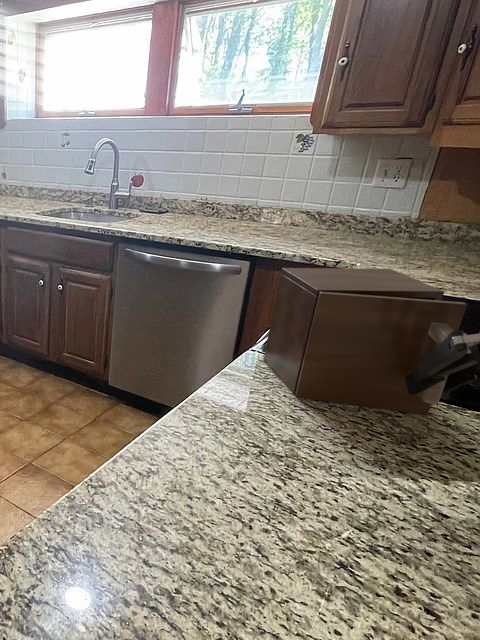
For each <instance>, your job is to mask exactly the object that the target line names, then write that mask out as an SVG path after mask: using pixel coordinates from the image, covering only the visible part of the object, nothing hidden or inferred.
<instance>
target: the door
mask: <svg viewBox="0 0 480 640" xmlns="http://www.w3.org/2000/svg"><path fill="white" fill-rule="evenodd" d="M467 306H468V303H465V302H464V301H463V302H462V301H449V300H441V301H438V300H424V299H411V298H398V297H385V296H372V295H358V294H345V293H332V292H319V296H318V300H317V304H316V308H315V312H314V317H313V321H312V325H311V329H310V333H309V337H308V342H307V346H306V350H305V354H304V358H303V363H302V367H301V371H300V375H299V379H298V384H297V388H296V392H295V394H294V396H295V398H299V399H306V400H314V401H320V402H321V401H322V402H327V403H337V404H343V405H350V406H357V407H365V408H373V409H380V410H385V411H386V410H387V411H393V412H400V413H401V412H403V413H409V414H416V415H424V416H428V415H429V412H430V409H431V407H432V405H439V402H440V399H441V397H442V395H441V394H442V392H443V389H444V386H445V383H446V381H447V378H448V375H447V376H444V377H445V380H444V381H442V382H440V383H438V384H435V385H433V386H431V387H429V388H427V389H425V390H423V391H421V392H419V393H417V394H415V395H414V394H409V392H408V388H407V384H406V380H405V376H407V375H409V374H411V373H413V372H415V371H416V370H418V369H419V368H418V364H417V360H416V359H417V358H418V357H420V356H421V355H423V354H424V353H426V352H427V351H429V350H430V349H432V348H433V347H435V346H436V345H437V344H439V343H440V342H442V341H443V340H445V339H446V338H447V337H448V335H449V333H450V332H451V331H454V330H460V326H461V323H462V320H463V317H464V315H465V312H466V309H467Z"/></svg>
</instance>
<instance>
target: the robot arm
mask: <svg viewBox="0 0 480 640" xmlns="http://www.w3.org/2000/svg"><path fill="white" fill-rule="evenodd" d="M416 360H417V364H418V368H419V369H418V370H416V371H415V372H413V373H411V374H409V375H407V376H405V380H406V384H407V388H408V392H409V394H414V395H415V394H417V393H419V392H421V391H423V390H425V389H427V388H429V387H431V386H433V385H435V384H438V383H440V382H442V381H444V380H445V377H444V376H447V375H448V378H447V381H446V383H445V386H444V389H443V392H442V394H441V396H443V395H445V394H448V393H451V392H452V391H454V390H456V389H459V388H462V387H463V386H466V385H468V384H470V383H473V382H475V381H476V380H477V381H478V384H479V385H480V331H479V332H478V333H474V334H467V333H466V332H464V331H463V330H462V329H458V330H454V331H451V332H450V333H449V335H448V337H447V338H446V339H445V340H443V341H442V342H440V343H439V344H437V345H436V346H435V347H433V348H432V349H430V350H429V351H427V352H426V353H424V354H423V355H421V356H420V357H418V358H417V359H416Z"/></svg>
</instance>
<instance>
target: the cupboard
mask: <svg viewBox="0 0 480 640" xmlns="http://www.w3.org/2000/svg"><path fill="white" fill-rule="evenodd" d="M319 292H332V293H345V294H358V295H372V296H385V297H398V298H411V299H424V300H438V301H443V298H444V294H445V291H444V290H442V289H439V288H437V287H435V286H433V285H430V284H428V283H425V282H422V281H420V280H419V279H416V278H414V277H411V276H409V275H406V274H404V273H401V272H398V270H397V271H396V270H394V269H392V268H351V267H349V268H348V267H347V268H346V267H345V268H344V267H343V268H342V267H341V268H338V267H337V268H336V267H335V268H333V267H330V268H329V267H282V268H281V271H280V276H279V281H278V286H277V290H276V295H275V299H274V300H275V301H274V304H273V310H272V315H271V320H270V325H269V329H268V335H267V339H266V344H265V349H264V354H263V360H262V362H264V363H265V364H266V366H267V367H268V368H269V369H270V370H271V371H272V372H273V373H274V374H275V376H276V377H277V378H278V379H279V380H280V381H281V382H282V383H283V384H284V386H285V387H286V388H287V389H288V390H289V391H290V393H291V394H292V395H295V392H296V388H297V384H298V379H299V375H300V371H301V367H302V363H303V358H304V354H305V350H306V346H307V342H308V337H309V333H310V329H311V325H312V321H313V317H314V312H315V308H316V304H317V300H318V296H319Z"/></svg>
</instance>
